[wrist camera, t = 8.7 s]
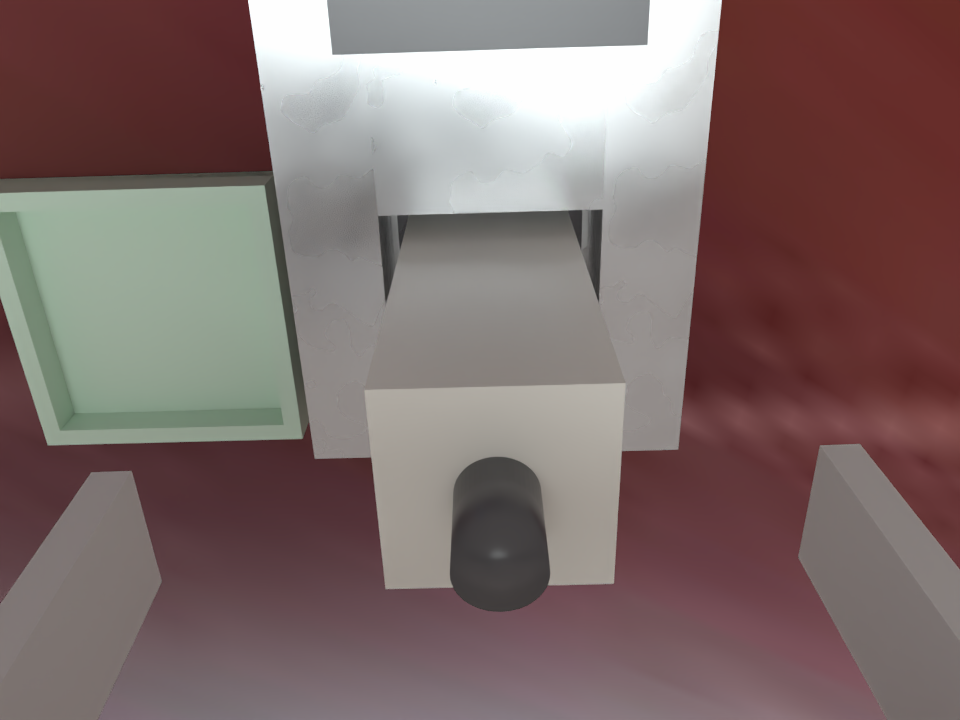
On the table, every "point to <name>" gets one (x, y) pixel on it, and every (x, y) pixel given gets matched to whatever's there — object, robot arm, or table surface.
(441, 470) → the plug
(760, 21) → the table surface
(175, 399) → the tray
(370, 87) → the metal socket frame
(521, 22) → the twin plug
